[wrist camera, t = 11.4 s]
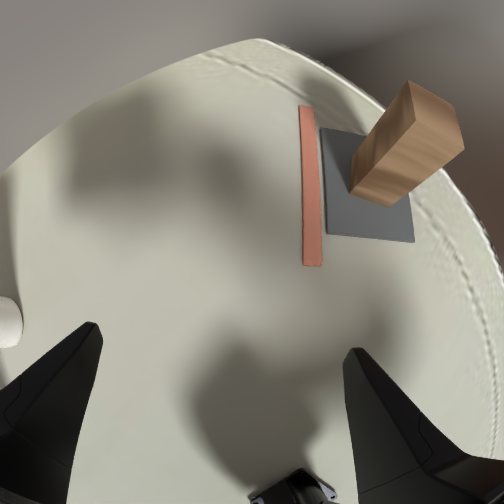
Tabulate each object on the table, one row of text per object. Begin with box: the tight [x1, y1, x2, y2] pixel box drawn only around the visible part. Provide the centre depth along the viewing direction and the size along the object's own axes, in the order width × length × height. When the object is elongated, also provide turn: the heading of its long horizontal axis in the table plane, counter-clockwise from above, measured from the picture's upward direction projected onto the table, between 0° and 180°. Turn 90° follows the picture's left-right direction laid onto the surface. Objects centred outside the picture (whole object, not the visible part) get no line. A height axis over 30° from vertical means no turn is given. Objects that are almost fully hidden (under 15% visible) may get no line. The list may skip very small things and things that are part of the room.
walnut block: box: [349, 80, 464, 208], centre depth 20 cm, size 5×5×12 cm
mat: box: [320, 127, 415, 243], centre depth 26 cm, size 12×10×1 cm
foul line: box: [299, 106, 322, 266], centre depth 26 cm, size 18×2×1 cm, turn 177°
